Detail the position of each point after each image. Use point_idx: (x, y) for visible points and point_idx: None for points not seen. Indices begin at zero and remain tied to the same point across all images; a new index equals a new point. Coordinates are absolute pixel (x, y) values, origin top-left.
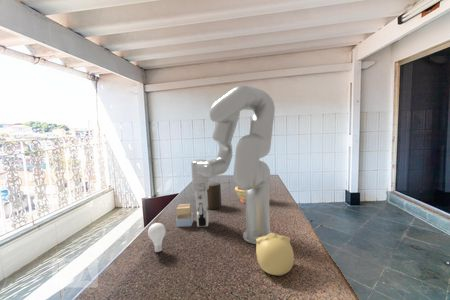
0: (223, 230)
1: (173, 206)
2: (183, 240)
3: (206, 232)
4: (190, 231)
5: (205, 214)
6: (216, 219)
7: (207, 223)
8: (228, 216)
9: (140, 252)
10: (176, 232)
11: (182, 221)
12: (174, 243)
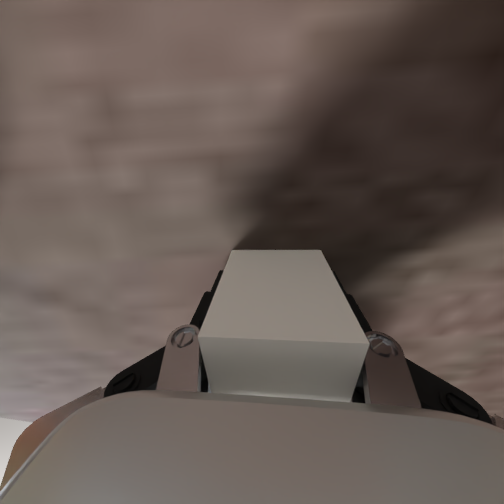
0: (495, 71)
1: (40, 415)
2: (490, 367)
3: (445, 254)
4: None
5: (359, 353)
6: (177, 181)
7: (326, 264)
8: (65, 15)
9: None
10: None
11: None
12: (499, 395)
